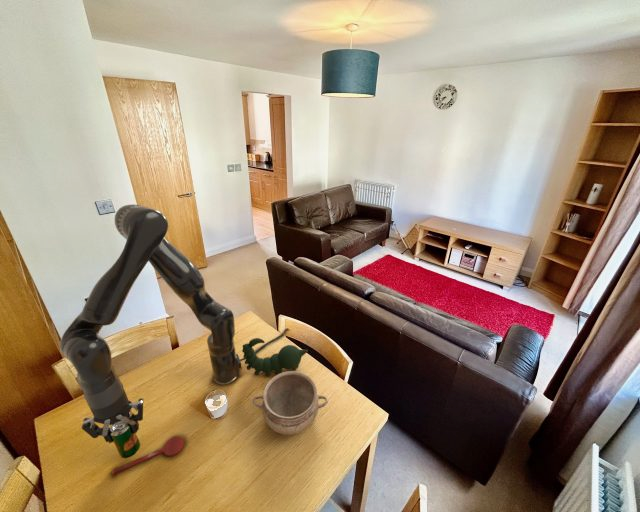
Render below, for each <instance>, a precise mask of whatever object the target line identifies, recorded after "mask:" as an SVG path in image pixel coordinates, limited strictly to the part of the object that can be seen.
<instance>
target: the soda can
mask: <svg viewBox="0 0 640 512" xmlns="http://www.w3.org/2000/svg"><path fill="white" fill-rule="evenodd" d="M109 428H110V432H109V433H110V436H111V438H112V440H113V442H112V443H113V444H114V447H116V450H117V452H118V454H119V456H120V457H121V458H122V459H129V458H131V457H133V456H134V455H136V453H137V452H138V451H139V450H140V447H141V442H140V440H139V437H138V435H137V433H133V431H132V428H131V424H129V423H125V422H123V421H120V422H116V423H114V424H112V425H110V426H109Z"/></svg>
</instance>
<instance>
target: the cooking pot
mask: <svg viewBox="0 0 640 512" xmlns="http://www.w3.org/2000/svg"><path fill="white" fill-rule="evenodd" d="M260 399H261V400H262V403H258V402H256V401H257V400H260ZM319 400H324V402H323V403H320V402H319ZM328 403H329V399H328V397H327V396H325V395H319V394H318V389H317V386H316V383H315V382H314V380H313V379H312V378H311V377H310V376H309V375H307V374H306V373H304V372H301V371H297V370H294V371H293V370H287V371H284V372H283V371H282V373H280V374H278V375H277V374H275V376H273V377H272V378H271V379H270V380H268V382H267V384H266V386H265V387H264V390H263V395H257V396H254V398H253V399H252V404H253V405H254V406H255V407H257V408H259V409H261V413H262V417H263V419H264V421H265V423H266V424H267V426H268V427H269V428H270V429H271V430H273V431H274V432H276V433H278V434H280V435H285V436H292V435H298V434H300V433H302V432H304V431H305V430H306V429H308V428H309V427H310V426H311V425H312V424H313V422H314V421H316V420H315V419H316V418H317V415H318V413H319V409H322V408H324V407H325V406H326V405H327V404H328Z"/></svg>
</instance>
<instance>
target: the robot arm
mask: <svg viewBox="0 0 640 512" xmlns="http://www.w3.org/2000/svg"><path fill="white" fill-rule="evenodd" d="M114 226H115V228H116V230H117V232H118V234H120V235H121V236H122V237H123V238H124V239H125V240H126V241H125V244H124V247H123V249H122V251H121V252H120V255H119V256H118V257H117V259H116V261H115V262H114V263H113V264H112V266H111V267H110V268H108V269H107V270H106V272H105V273H104V274H103V275H102V276H100V278H99V279H98V280H97V282H96V283H95V284H94V286H93V287H92V289H91V291H90V294H89V295H88V297H87V300H86V302H85V304H84V306H83V308H82V310H81V312H80V313H79V314H78V315H77V316H76V317H75V319H74V320H73V321H72V322H71V324H70V325H69V326H68V327H67V329H66V330H65V331H64V333H63V334H62V336H61V339H60V341H59V350H60V353H61V354H62V355H63V356H64V357H65V358H66V359H67V360H68V361H69V362H70V363H71V364H72V367H74V370H75V371H76V372H77V373H76V379H77V382H78V384H79V386H80V389H81V391H82V393H83V396H84V397H83V398H84V400H85V401H86V404H87V405H88V407H89V410H90V411H91V414H92V415H93V416H92V417H85V418H83V421H82V425H81V429H82V431H84V432H85V433H86V434H88V435H89V436H90V437H91V438H92V439H97V438H99V437H103V439H104V441H105V442H106V443H109V444H111V443H114V442H113V440H112V438H111V436H110V433H109V432H110V426H111V425H112V424H114V423H116V422H120V421H123V422H125V423H129V424H131V428H132V431H133V433H136V434H137V433H138V431H139V429H140V423H139V422H141V421H143V419H144V398H142V397H141V398H138V400H137V401H134V402H132V401H131V400H129V398H128V395H127V393H126V390H125V388H124V384H123V383H122V381H121V379H120V377H119V375H118V374H117V372H116V369H115V366H114V365H113V358H112V357H113V356H112V351H111V348H110V345H109V343H108V342H107V340H106V339H104V338H103V337H102V336H101V335H100V334H99V333H100V331H101V330H102V328H103V327H104V326H105V327H106V326H111V325H112V324H114V323H115V321H117V319H118V317H119V315H120V313H121V310H122V308H123V307H124V304H125V302H126V300H127V297H128V295H129V293H130V292H131V289H132V287H133V286H134V284H135V283H136V281H137V279H138V278H139V276H140V274H141V273H142V271H143V270H144V268H145V267H146V265H147V264H148V263H149V264H150V265H151V266H152V268H153V269H154V270H155V272H156V273H157V274H158V275H159V276H160V278H161V279H162V280H163V281H164V283H165V284H166V285H167V286H168V287H169V288H170V290H171V291H172V292H173V293H174V294H175V295H176V296H177V297H178V298H179V299H180V300H181V301H182V302H184V303H185V304H186V305H187V306H188V307H189V308H190V310H191V311H192V313H193V314H194V316H195V317H196V319H197V321H198V322H199V323H200V325H201V326H203V327H204V328H205V329H207V330H209V331H210V332H211V333H209V335H208V337H207V338H206V343H207V348H208V354H209V358H210V364H211V365H210V366H211V369H212V376H213V381H214V382H215V383H216V384H217V385H221V386H224V385H225V386H227V385H230V384H231V383H233V382H234V381H236V380H237V378H238V377H239V378H240V377H241V375H240V369H242V367H243V366H242V361H246V358H244V357H242V358H240V356H239V354H238V353H236V346H235V339H234V338H235V334H236V327H235V316H234V313H233V311H232V310H231V309H229V308H228V307H226V306H225V305H223V304H221V303H219V302H218V301H216V300H215V299H214V298H213V297H212V296H211V294H209V293H208V291H207V289H206V281H205V279H204V277H203V275H202V273H201V272H200V271H199V269H198V268H197V266H196V265H195V264H194V263H193V262H192V261H191V259H189V258H188V257H187V256H186V255H185V254H184V253H182V252H181V251H180V250H179V249H177V248H176V246H174V245H173V244H172V243H171V242H169V240H168V239H167V238H166V235H167V234H168V230H169V222H168V219H167V217H166V216H165V215H164V213H162V212H161V211H160V210H157V209H155V208H151V207H149V206H145V205H142V204H135V203H133V204H126V205H122V206H121V207H119V208H118V209H117V210H116V212H115V215H114ZM289 330H290V328H288V327H287V328H285V329H284V330H283V332H282V333H281V334H280V335H278V336H277V337H275V338H272V339H271V340H269V341H268V342H266V343H263V345H262V346H260V347H258V349H257V350H256V351H254V353H256V354H258V352H259V351H261V350H262V349H263V348H265V347H266V346H268V345H269V344H271V343H272V342H274V341H277V340H278V339H280V338H281V337H283V336H284V335H285V333H286V331H289ZM132 409H134V410H135V411H136V412H137V413H136V414H135V413H134V412H133V410H132ZM97 423H98V424H101V425H102V427H100V426H99V425H98V424H97Z"/></svg>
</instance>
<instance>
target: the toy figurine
mask: <svg viewBox="0 0 640 512" xmlns="http://www.w3.org/2000/svg"><path fill="white" fill-rule="evenodd" d="M259 344H266V343H265V340H264V339H262V338H260V337H256V338H252V339H250V340H249V342H248V343H244V344H242V351H241V352H242V353H243V356H242V358H246V359H245V360H244V364H245V365H246V366H245V367H246V370H247V371H249V370H251V369H254V375H255V376H256V377H257V376H260V374H261V372H262V373H263V374H265V377H266V378H269V377H270V376H271V375H272V373H273V372H275V375H278V374H280V373H283V370H285V371H286V370H287V371H297V369H298V368H299V365H300V364H301V361H302V357H303V356H305V355H306V354H307V353H308V352H309V350H308V349H300V348H299V347H298V346H295V345H292V344H287V345H285V346H282V347H281V348H280V350H278V353H274V354H272V355H271V356H270V357H269V356H267V357H263V358H262V357H259V356H258V355H257V353H255V349H254V348H253V347H255V346H256V345H259Z"/></svg>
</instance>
